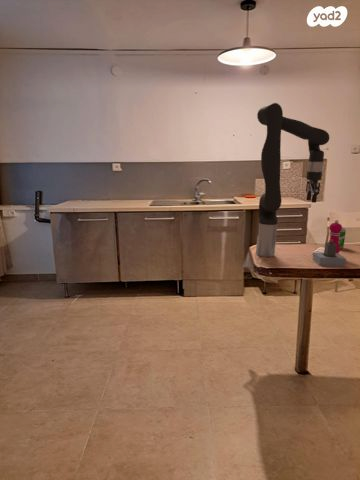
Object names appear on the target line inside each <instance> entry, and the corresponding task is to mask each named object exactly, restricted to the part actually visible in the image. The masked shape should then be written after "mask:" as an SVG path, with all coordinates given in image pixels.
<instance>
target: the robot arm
mask: <svg viewBox="0 0 360 480" xmlns="http://www.w3.org/2000/svg"><path fill="white" fill-rule="evenodd" d="M283 111H284V110H283V109H282V106H281V105H280V104H279V103H278V102H273V103H269V104H267V105H264V106H261V107H260V108H259V110H257V115H256V116H257V117H256V118H257V120H258V121H257V122H259V123H260V124H261V125H263V126H266V137H265V141H264V144H263V146H262V149H261V158H260V161H261V162H260V165H261V172H262V176H263V180H264V187H265V189H264V193H263V194H262V195H261V196H260V198H259V202H258V218H259V219H258V235H257V236H256V249H255V254H256V255H257V256H258V257H262V258H263V257H264V258H272V257H275V254H276V253H275V252H276V242H277V241H276V240H277V232H278V231H277V230H278V223H279V222H278V221H279V220H278V216H277V211H278V210H279V209H280V208H281V205H282V194H281V193H282V192H281V164H282V163H281V160H282V159H281V157H282V156H281V154H282V153H281V142H282V138H281V137H282V131H283V132H287V133H289V134H291V135H293V136H296V137H297V138H299V139H302V140H306V141H307V145H308V152H309V157H308V165H307V167H306V168H307V169H306V176H305V177H306V178H305V179H306V180H307V181H306V187H305V193H306V201H311V203H314V204H315V203H317V200H318V199H317V198H318V195H320V189H321V183H320V182H319V181H322V177H323V170H324V158H325V152H324V150H321V148H320V146H323V145H327V143H329V141H330V134H329V132H327V131H326V130H324V129H321V128H318V127H314V126H311V125H310V124H308V123H306V122H303V121H301V120H298V119H294V118H289V117H286V116H284V114H283Z"/></svg>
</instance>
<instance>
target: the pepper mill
mask: <svg viewBox="0 0 360 480" xmlns="http://www.w3.org/2000/svg"><path fill="white" fill-rule="evenodd" d="M342 227H343V226H342V224H340V223H339V219H336V220H334V222H333V223H331V224H330V225H329V240H328V242H327V243H330V239H332V240H333V243H335V244H336V245H337V248H336V253H339V254H340V252H341V249H340V245H339V242H338V238H339V236H340V231H341V230H342Z"/></svg>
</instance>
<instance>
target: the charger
mask: <svg viewBox="0 0 360 480" xmlns="http://www.w3.org/2000/svg"><path fill="white" fill-rule="evenodd" d="M329 240H330V243H328V242H325V243H324V251H323V253H324V256H326V257H335V255H336V248H337V245H336V244H335V243H333V240H332V239H330V238H329Z"/></svg>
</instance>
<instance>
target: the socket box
mask: <svg viewBox="0 0 360 480" xmlns="http://www.w3.org/2000/svg"><path fill="white" fill-rule="evenodd" d="M312 260H313V261H314V262H315V263H316V264H317V265H318V266H322V267H323V266H327V267H345V266H346V261H347V258H345V257H344V256H343V255H342V254H340V252H339V253H336V255H335V257H326V256H324V252H318V251H313V257H312Z"/></svg>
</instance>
